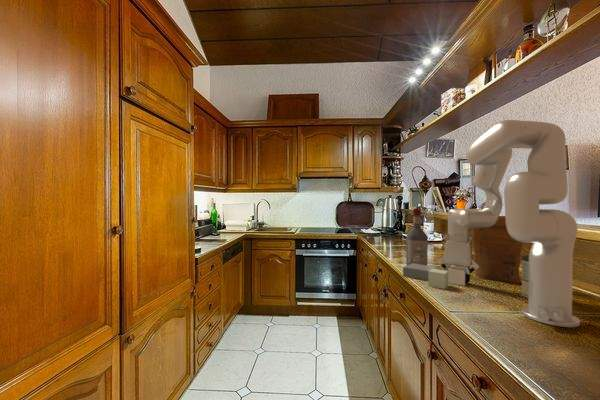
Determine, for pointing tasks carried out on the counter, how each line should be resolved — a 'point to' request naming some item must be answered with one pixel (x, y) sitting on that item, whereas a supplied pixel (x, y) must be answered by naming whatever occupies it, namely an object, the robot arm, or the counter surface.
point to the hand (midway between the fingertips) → (457, 281)
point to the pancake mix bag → (497, 253)
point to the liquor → (416, 242)
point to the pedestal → (417, 271)
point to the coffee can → (525, 276)
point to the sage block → (438, 278)
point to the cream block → (457, 275)
